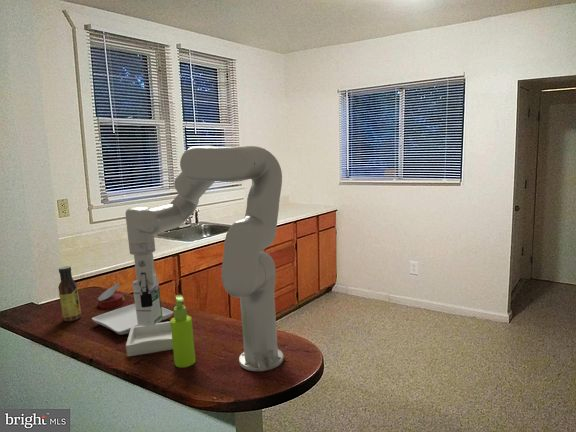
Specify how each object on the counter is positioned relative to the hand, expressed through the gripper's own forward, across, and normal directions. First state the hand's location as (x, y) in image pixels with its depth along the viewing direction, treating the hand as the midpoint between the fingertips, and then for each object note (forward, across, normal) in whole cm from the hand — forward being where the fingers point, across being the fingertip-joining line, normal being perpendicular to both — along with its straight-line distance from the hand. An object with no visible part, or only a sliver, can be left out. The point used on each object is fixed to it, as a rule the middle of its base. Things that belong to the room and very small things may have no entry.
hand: (148, 301), depth 132 cm
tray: (+14, 0, 0) cm, 14 cm away
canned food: (+14, +44, +19) cm, 50 cm away
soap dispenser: (+14, -17, -10) cm, 24 cm away
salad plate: (+14, +20, +8) cm, 26 cm away
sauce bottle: (+14, +32, +31) cm, 47 cm away
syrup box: (+7, 0, 0) cm, 7 cm away
